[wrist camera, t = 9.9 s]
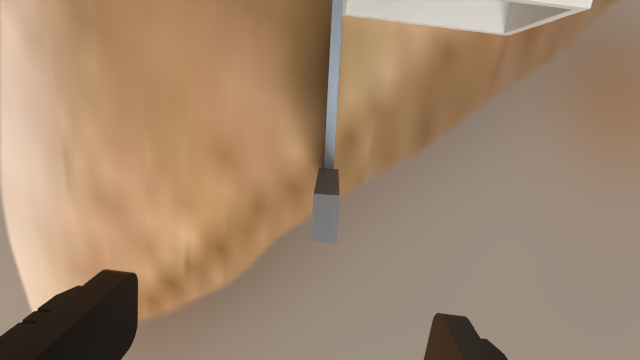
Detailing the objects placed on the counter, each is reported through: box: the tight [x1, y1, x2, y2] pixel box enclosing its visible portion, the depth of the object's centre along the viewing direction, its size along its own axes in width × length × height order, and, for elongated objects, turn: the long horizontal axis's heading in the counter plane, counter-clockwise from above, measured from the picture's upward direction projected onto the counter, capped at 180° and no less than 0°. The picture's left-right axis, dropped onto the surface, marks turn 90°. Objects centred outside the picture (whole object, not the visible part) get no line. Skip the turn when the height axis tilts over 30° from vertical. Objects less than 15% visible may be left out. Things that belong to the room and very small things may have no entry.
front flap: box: [312, 0, 343, 243], centre depth 24 cm, size 14×1×16 cm, turn 177°
